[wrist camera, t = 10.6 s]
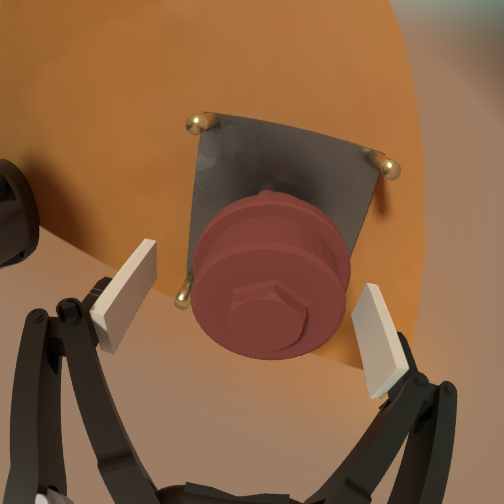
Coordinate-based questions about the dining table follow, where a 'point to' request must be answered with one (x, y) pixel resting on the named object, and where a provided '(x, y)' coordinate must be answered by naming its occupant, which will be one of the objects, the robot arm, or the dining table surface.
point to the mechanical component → (270, 277)
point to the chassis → (279, 174)
